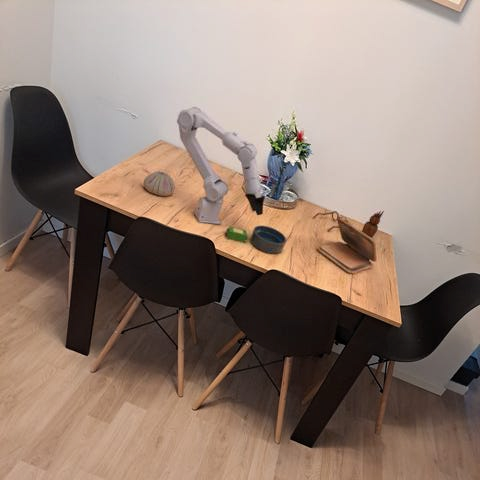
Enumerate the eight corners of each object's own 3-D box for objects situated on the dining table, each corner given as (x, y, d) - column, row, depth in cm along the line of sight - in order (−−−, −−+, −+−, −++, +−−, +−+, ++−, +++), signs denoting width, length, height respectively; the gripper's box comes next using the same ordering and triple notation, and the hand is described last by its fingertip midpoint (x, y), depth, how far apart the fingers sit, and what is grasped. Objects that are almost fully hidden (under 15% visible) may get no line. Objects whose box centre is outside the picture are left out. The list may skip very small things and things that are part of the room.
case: (374, 267, 207) (392, 236, 198) (350, 275, 193) (368, 242, 184) (340, 243, 216) (355, 212, 207) (314, 249, 202) (329, 216, 193)
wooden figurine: (372, 237, 235) (387, 210, 227) (371, 241, 230) (386, 214, 222) (360, 231, 236) (374, 205, 227) (359, 235, 231) (373, 208, 222)
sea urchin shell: (174, 201, 196) (178, 183, 191) (141, 193, 192) (145, 175, 187) (173, 188, 206) (177, 171, 201) (142, 180, 202) (146, 163, 197)
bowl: (257, 253, 183) (261, 242, 180) (245, 234, 192) (248, 224, 189) (287, 255, 189) (291, 245, 186) (273, 237, 198) (277, 227, 196)
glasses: (346, 231, 230) (351, 223, 227) (328, 231, 223) (332, 222, 220) (331, 218, 238) (335, 209, 235) (312, 217, 231) (316, 208, 228)
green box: (226, 238, 184) (228, 231, 183) (225, 232, 188) (227, 225, 186) (246, 243, 187) (248, 236, 185) (245, 237, 190) (247, 230, 188)
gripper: (266, 178, 172) (271, 214, 178) (257, 173, 185) (262, 206, 191) (247, 182, 172) (254, 218, 178) (240, 177, 185) (246, 210, 191)
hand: (257, 212), depth 185 cm, fingers open, 7 cm apart
